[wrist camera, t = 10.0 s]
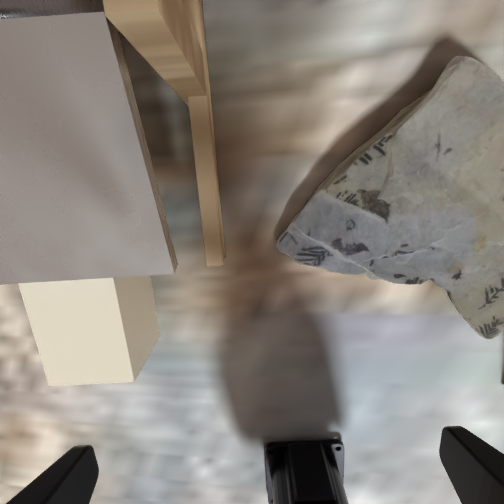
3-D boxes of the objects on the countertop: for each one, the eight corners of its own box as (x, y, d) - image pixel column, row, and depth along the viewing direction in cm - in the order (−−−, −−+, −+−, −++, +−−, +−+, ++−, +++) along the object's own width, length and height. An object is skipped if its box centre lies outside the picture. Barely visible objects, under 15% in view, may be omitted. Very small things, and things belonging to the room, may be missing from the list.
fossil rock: (611, 204, 19) (660, 209, 17) (452, 361, 23) (475, 383, 20) (420, 35, 16) (447, 13, 14) (272, 242, 20) (275, 251, 18)
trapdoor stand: (225, 256, 19) (200, 337, 10) (-1, 270, 20) (-244, 362, 10) (200, -17, 15) (115, -340, 6) (-85, 4, 16) (-629, -272, 6)
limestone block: (145, 244, 19) (160, 334, 21) (73, 248, 19) (94, 338, 21) (111, 267, 15) (134, 381, 16) (15, 273, 15) (49, 386, 16)
